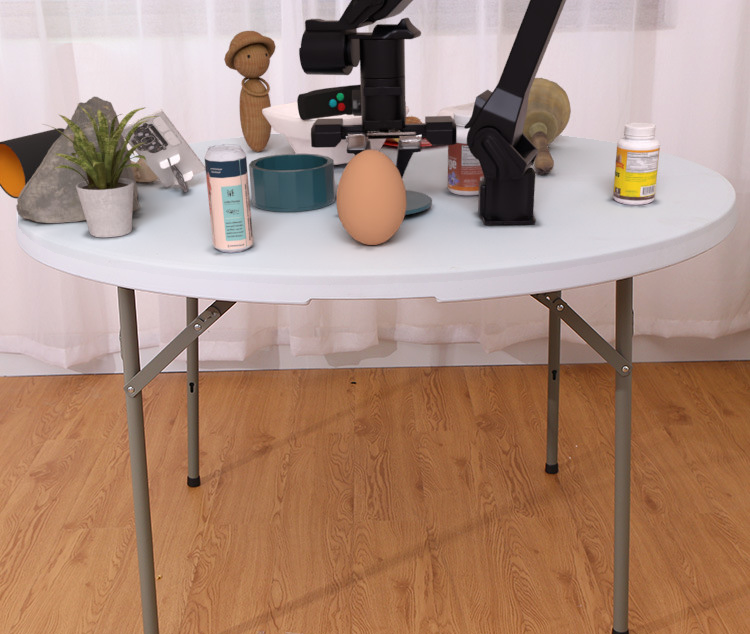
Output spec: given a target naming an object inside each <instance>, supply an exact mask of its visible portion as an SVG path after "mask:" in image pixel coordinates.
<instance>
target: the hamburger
mask: <svg viewBox="0 0 750 634" xmlns="http://www.w3.org/2000/svg"><path fill="white" fill-rule="evenodd" d="M414 123H423V121H421V119H420V118H419V117H417V116H413V115H409V116H406V124H414ZM392 132H393V131H392ZM395 132H396V131H395ZM398 141H399V138H395V139H386V140H385V142H384V143H383V145H385V146H392V147H398ZM420 142H421V147H431V146H433V145H432V144H431V143H430V142H429V141H428V140H427V139H426V138H422V141H420Z"/></svg>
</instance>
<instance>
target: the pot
mask: <svg viewBox="0 0 750 634" xmlns="http://www.w3.org/2000/svg"><path fill="white" fill-rule="evenodd" d="M248 172H249V182H250V183H249V184H250V185H249V186H250V197H251V201H252V205H253V207H255V208H256V209H257V208H258V209H259V210H263V211H268V212H276V213H277V212H279V213H295V212H306V211H313V210H318V209H323V208H325V207H328V206H331V205H332V204H333V203H334V202H335V200H336V199H335V198H336V197H335V196H336V187H335V186H336V185H335V183H336V181H335V165H334V160H333V159H331V158H330V157H327V156H322V155H317V154H296V153H283V154H282V153H281V154H273V155H272V154H271V155H267V156H263V157H258V158H256V159H253V160H251V161H250V163H249V164H248Z"/></svg>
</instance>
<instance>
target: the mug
mask: <svg viewBox="0 0 750 634" xmlns="http://www.w3.org/2000/svg"><path fill="white" fill-rule="evenodd" d="M56 129H58V130H59V131H61V132H62V133H63V132H64V130H65V129H66V128H63V127H57V128H56ZM56 129H54V128H52V129H49V130H44V131H41V132H37V133H31V134H28V135H23V136H18V137H15V138H10V139H7V140H2V141H0V188H1V190H3V192H4V193H5V194H6V195H7V196H9V197H10V198H12V199H15V200H17V199H18V197H19V195H20V193H21V191H22V190H23V188H24V186H25V185H26V184H27V182H28V181H29V180H30V179H31V177H32V176H33V174H34V173H35V172H36V170H37V168H38V167H39V166H40V165H41V163H42V161H43V159H44V158H45V156H46V155H47V153H48V151H49V149H50V148H51V147H52V145H53V143H54V142H55V141H56V140H57V139H58V138H59V137H60V136H61V135H62V134H61V133H60V132H59V131H58V130H56Z"/></svg>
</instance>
